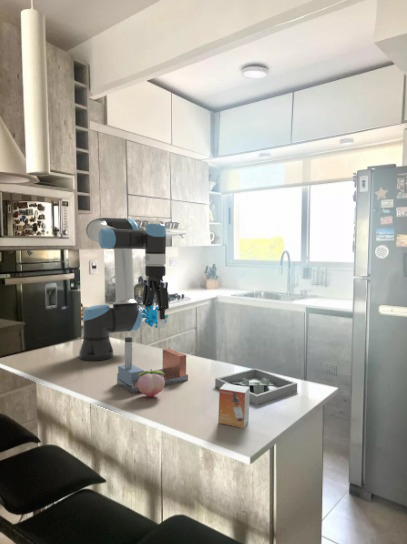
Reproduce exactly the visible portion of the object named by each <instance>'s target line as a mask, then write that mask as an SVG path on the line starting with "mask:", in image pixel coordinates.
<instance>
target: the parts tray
mask: <svg viewBox="0 0 407 544" xmlns="http://www.w3.org/2000/svg"><path fill="white" fill-rule="evenodd" d="M244 378H245V379H247V380H248V379H252V378H256V379H257V378H258V379H260V380H261V378H265V379H267V380H268V379H269V382H272V383H271V384H274V385H276V386H279V387H276V388H273V389H270V390H267V391H264V393H261V394H257V395H256V394H254V392H251V391H250V397H249V403H251V404H253V405H255V406H258V405H262V404H265V403H267V402H270V401H272V400H276V399H278V398H282V397H284V395H285V396H287V394H288V395H290V394H289V393H291V394H293V393H292V392H294V393H296V392H297V391H298V382H296V381H293V380H289V379H287V378H284V377H281V376H278V375H276V374H272V373H269V372H268V371H265V370H261V369H259V368H251V369H247V370H243V371H239V372H235V373H231V374H228V375H224V376H221V377H216V378H215V379H214V380H215V382H214V383H215V384H214V386H215V388H218V389H220V388H221V387H222V386H223V385H224V384H225V383H227V384H232V383H235V382H241V381H242V379H244ZM232 385H234V384H232ZM295 391H296V392H295ZM281 396H282V397H281Z"/></svg>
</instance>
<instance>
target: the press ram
mask: <svg viewBox="0 0 407 544" xmlns="http://www.w3.org/2000/svg"><path fill="white" fill-rule="evenodd" d="M117 368H118V369H117V371H118V372H117V373H118V379H120V380H121V381H123V382H125V383H126V384H128V385H129V386H131V387H132V382H134V381H138V379H139V377H140V376H138V375H139V374H140V373H141V372H143V371H145V370H144V369H141V368H140V367H138V366H136V365H134V364H133V337H129V336H128V337H124V364H120V365H118V366H117ZM137 376H138V377H137Z"/></svg>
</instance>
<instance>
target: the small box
mask: <svg viewBox="0 0 407 544" xmlns="http://www.w3.org/2000/svg"><path fill="white" fill-rule="evenodd" d="M250 387H251V386H243V385H240V384H233V385H232V383H231V384H227V383H225V384H224V385H223V386H222V387H221V388H219V393H218V415H217V416H218V418H217V419H218V421H217V423H218V424H224V425H228V426H233V427H236V428H237V427H238V428H241V429H244V428H245V427H246V425H247V424H248V423H249V419H250V418H249V415H250V402H249V397H250V392H251V391H250V390H251V388H250Z"/></svg>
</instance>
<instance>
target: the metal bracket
mask: <svg viewBox="0 0 407 544" xmlns="http://www.w3.org/2000/svg"><path fill="white" fill-rule="evenodd" d="M249 379H250V378H249ZM249 379H245V378H244V379H242V380H241V381H242V382H241V381H238V382H234V383H231V384H233V385H239V386H247V387H251V386H253V393H254V394H256V395H257V394H261V393H264V392H265V386H274V385H275V384H273V383H272V382H269V379H268V380H267V379H265V378H261V379H260V380H261V381H250V380H249Z"/></svg>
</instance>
